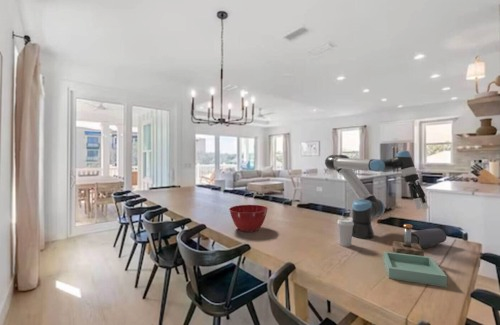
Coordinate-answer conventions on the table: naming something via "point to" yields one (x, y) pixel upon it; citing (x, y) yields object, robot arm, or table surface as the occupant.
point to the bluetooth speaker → (428, 237)
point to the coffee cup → (345, 231)
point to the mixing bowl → (248, 216)
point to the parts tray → (414, 269)
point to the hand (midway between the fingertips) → (422, 208)
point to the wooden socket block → (407, 249)
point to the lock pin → (407, 235)
